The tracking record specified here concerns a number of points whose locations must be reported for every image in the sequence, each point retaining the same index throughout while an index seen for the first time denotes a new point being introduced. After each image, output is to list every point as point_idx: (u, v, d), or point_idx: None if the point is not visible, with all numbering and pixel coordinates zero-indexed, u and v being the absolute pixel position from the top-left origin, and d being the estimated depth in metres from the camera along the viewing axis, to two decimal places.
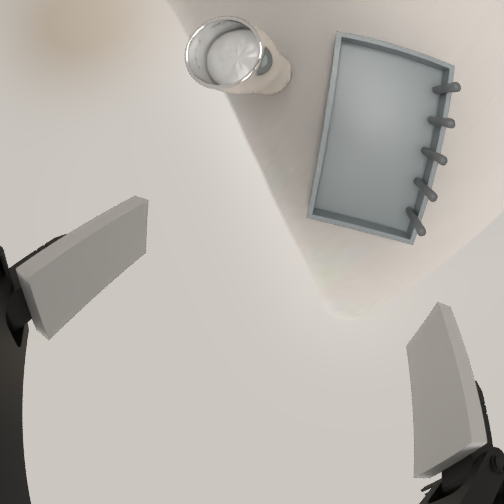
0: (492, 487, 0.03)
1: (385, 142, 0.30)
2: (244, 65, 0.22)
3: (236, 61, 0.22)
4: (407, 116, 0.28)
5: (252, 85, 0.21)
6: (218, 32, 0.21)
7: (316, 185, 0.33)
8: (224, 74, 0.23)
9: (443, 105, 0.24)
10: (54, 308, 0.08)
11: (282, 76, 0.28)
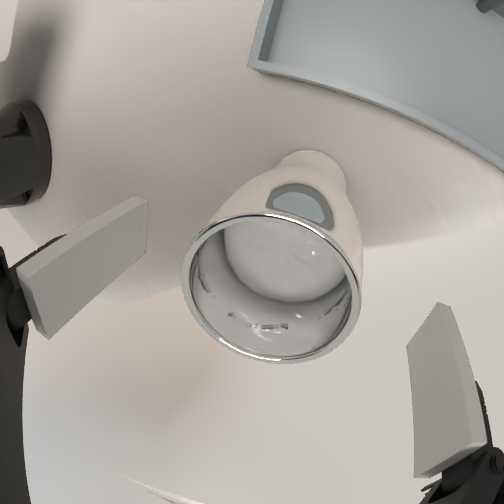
0: (492, 487, 0.03)
1: (435, 34, 0.13)
2: (304, 241, 0.13)
3: (292, 254, 0.13)
4: None
5: (359, 244, 0.11)
6: (222, 271, 0.14)
7: (500, 160, 0.14)
8: (311, 280, 0.14)
9: None
10: (54, 308, 0.08)
11: (324, 166, 0.19)
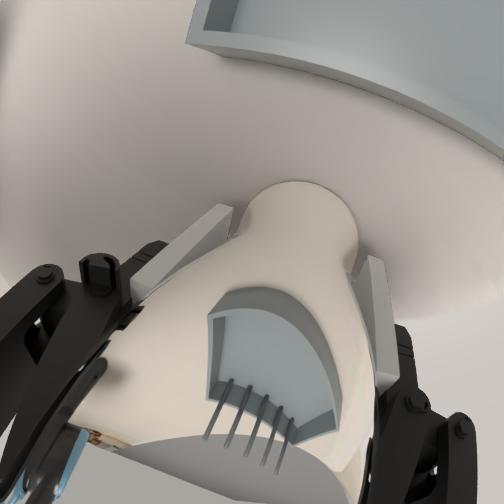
0: (416, 430, 0.05)
1: (496, 4, 0.05)
2: None
3: None
4: None
5: None
6: None
7: None
8: None
9: None
10: None
11: (322, 218, 0.11)
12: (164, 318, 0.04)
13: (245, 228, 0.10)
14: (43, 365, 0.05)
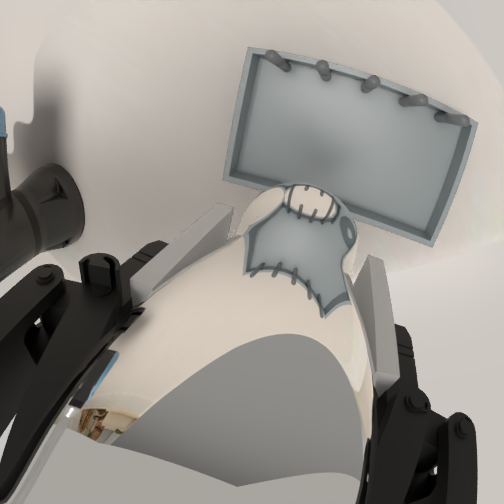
0: (416, 430, 0.05)
1: (357, 137, 0.26)
2: None
3: None
4: (323, 105, 0.25)
5: None
6: None
7: (400, 231, 0.26)
8: None
9: (303, 62, 0.22)
10: None
11: (322, 220, 0.11)
12: (164, 320, 0.04)
13: (245, 229, 0.10)
14: (43, 365, 0.05)
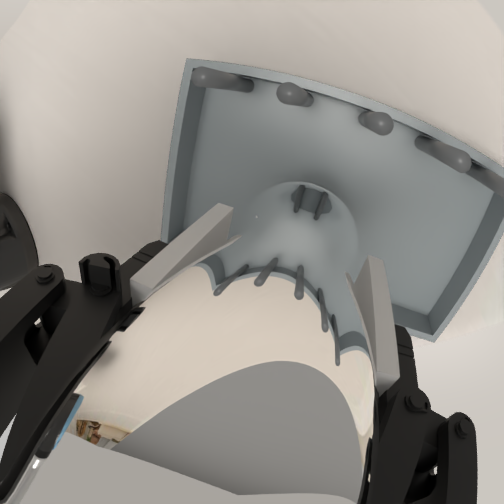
0: (416, 430, 0.05)
1: (349, 193, 0.19)
2: None
3: None
4: (301, 145, 0.18)
5: None
6: None
7: None
8: None
9: (269, 80, 0.15)
10: None
11: (322, 219, 0.11)
12: (164, 320, 0.04)
13: (245, 229, 0.10)
14: (43, 365, 0.05)
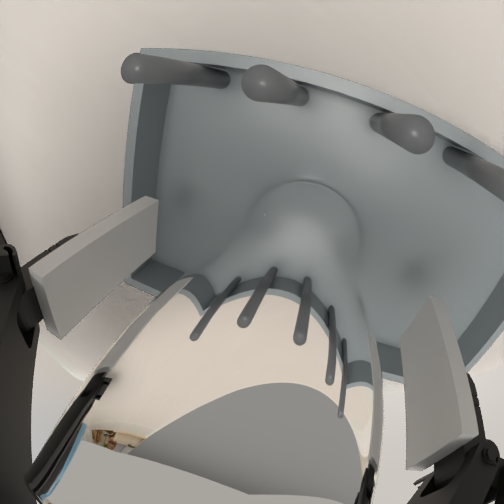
0: (485, 480, 0.04)
1: None
2: None
3: None
4: (292, 157, 0.14)
5: (372, 489, 0.03)
6: None
7: (403, 378, 0.15)
8: None
9: (246, 70, 0.11)
10: (66, 308, 0.08)
11: (327, 217, 0.12)
12: (193, 306, 0.05)
13: (255, 226, 0.11)
14: None
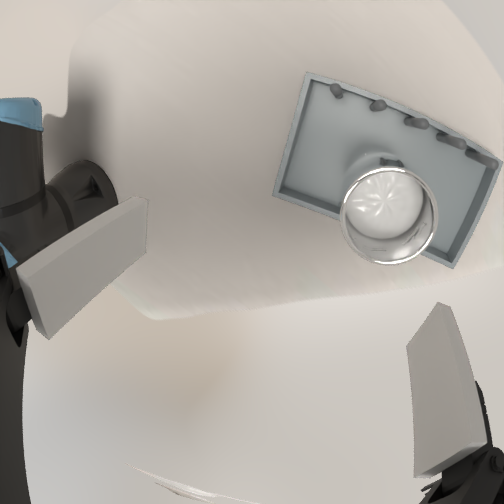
0: (492, 487, 0.03)
1: None
2: (395, 196, 0.19)
3: (388, 204, 0.20)
4: (370, 134, 0.27)
5: None
6: None
7: (427, 253, 0.28)
8: (397, 222, 0.20)
9: (356, 93, 0.24)
10: (54, 308, 0.08)
11: None
12: (379, 153, 0.19)
13: None
14: None
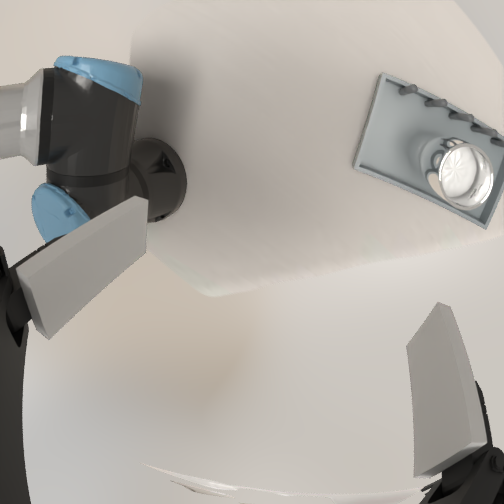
0: (492, 487, 0.03)
1: None
2: (461, 166, 0.24)
3: (456, 171, 0.24)
4: (424, 124, 0.32)
5: None
6: (429, 177, 0.25)
7: (467, 216, 0.33)
8: (461, 184, 0.25)
9: (418, 92, 0.29)
10: (54, 308, 0.08)
11: None
12: (450, 136, 0.23)
13: (430, 138, 0.29)
14: None
